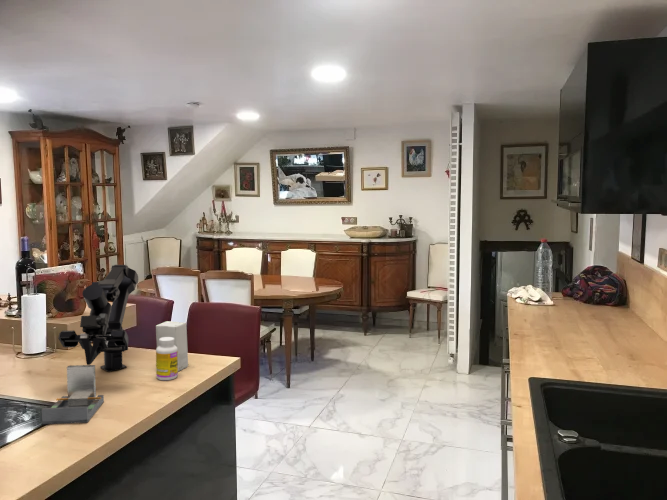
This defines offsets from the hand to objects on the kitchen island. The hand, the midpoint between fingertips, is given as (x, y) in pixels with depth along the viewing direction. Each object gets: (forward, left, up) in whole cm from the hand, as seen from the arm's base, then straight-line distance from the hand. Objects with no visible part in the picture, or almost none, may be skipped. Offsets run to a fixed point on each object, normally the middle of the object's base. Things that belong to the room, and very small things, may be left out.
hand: (88, 364), depth 153 cm
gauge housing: (+10, -8, -9) cm, 16 cm away
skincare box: (-5, +30, -10) cm, 32 cm away
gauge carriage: (+6, -5, -9) cm, 11 cm away
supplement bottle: (+2, +24, -10) cm, 26 cm away
